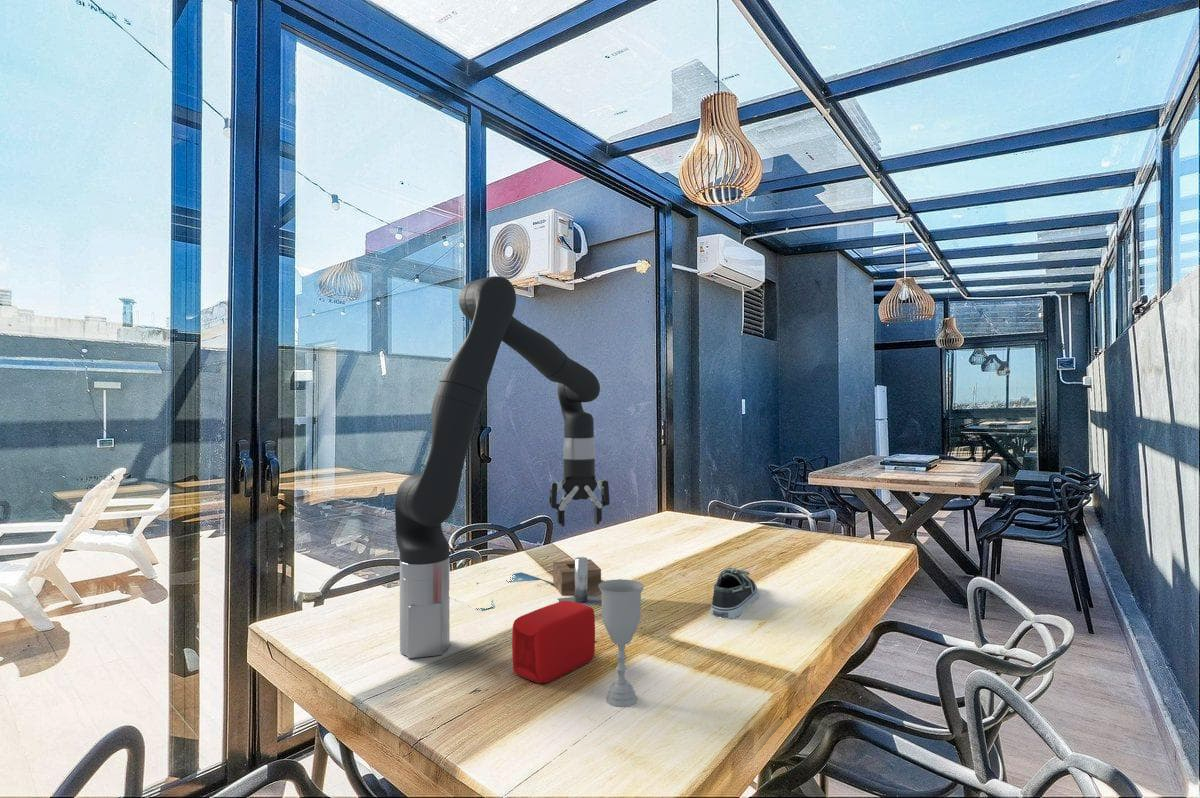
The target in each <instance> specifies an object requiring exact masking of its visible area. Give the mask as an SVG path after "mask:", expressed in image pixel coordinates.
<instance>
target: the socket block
mask: <svg viewBox="0 0 1200 798" xmlns="http://www.w3.org/2000/svg"><path fill="white" fill-rule="evenodd" d="M587 571H588V594H595V593H602V592H601V590H600V588H599V586H598V585H599V584H600V583H602V569H601V567H599V566H598V565H597V564H596V563H595V561H593V560H592V559H588V558H587ZM552 583H553V584H554V586H555V587H554V586H553V587H554V588H555V589H556V590H557V592H558V593H559V594H560V595H561V596H575V560H563V561H552Z"/></svg>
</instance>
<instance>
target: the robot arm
mask: <svg viewBox="0 0 1200 798" xmlns="http://www.w3.org/2000/svg"><path fill="white" fill-rule="evenodd" d="M516 304H517V293H516V290H515V286H514V285H513V283H512V282H511V281H510V280H509V279H508V278H506V277H504V276H500V275H499V276H498V275H497V276H488V277H483V278H480V279H475V280H472V281H470V282H467V283H466V284H464V285H463V286H462V288H461V289H460V292H459V294H458V306H459V308H460V311H461V312H462V314H463V315H464V317H466V318H467V320H469V321H471V322H472V323H471V325H470V328H469V331H468V334H467V336H466V338H465V340H464V342H463V343H461V346H460V347H459V348H458V350H456V353H455V354H454V355H453V356H452V358H451V359H450V361H449V362H448V364H447V365H446V367H445V368H444V370H443V372H442V374H441V377H440V379H439V382H438V385H437V388H436V392H435V395H434V397H433V401H432V406H431V415H430V416H431V441H430V442H431V443H430V444H431V445H430V448H429V452H428V456H427V460H426V462H425V465H424V468H423V471H422V473H417V474H413V475H412V474H411V475H409V476H408V477H406V478H405V479H404V480H403V481H402V482H401V483H400V484H399V486H398V488H397V490H396V494H395V500H394V501H395V502H394V518H395V521H394V522H395V523H394V524H395V525H394V526H395V539H396V544H397V548H398V552H399V652H400V653H401V654H402V655H404V656H406V657H407V659H414V658H415V659H416V658H424V657H432V656H433V657H435V656H442V654H443V652H445V651H446V650H448V648H449V647H450V639H451V638H450V630H451V629H450V597H449V590H450V543H449V541H448V540H447V538H446V536H445V534H444V532H443V528H442V524H443V523H444V522H446V521H447V520H448V519H449V518H450V516H451V515H452V513H453V512H454V509H455V507H456V504H457V501H458V500H457V499H458V495H459V490H460V487H461V486H460V485H461V480H462V474H463V470H464V465H465V460H466V457H467V452H468V451H469V450H468V449H469V446H470V444H471V441H472V436H473V433H474V429H475V426H476V423H477V420H478V417H479V414H480V412H481V408H482V405H483V403H484V399H485V396H486V391H487V387H488V383H489V380H490V378H491V374H492V371H493V368H494V366H495V362H496V359H497V358H496V357H497V356H498V355H497V354H498V352H499V349H500V348H501V347H500V346H501V343H504V344H506V345H507V346H508V347H510V348H511V349H512V350H513V351H515V352H516V353H518V354H519V355H520V356H521V357H522V358H523V359H525V360H526V362H528V363H530V365H532V367H534V368H535V369H536V370H537V372H539V373H540V374H541V375H542V376H544V378H546V379H547V380H548V381H550V382H552V383H557V397H558V401H559V402H558V403H559V406H560V407H559V408H560V409H561V414H562V418H563V422H564V423H563V424H564V425H563V426H564V427H563V430H564V431H563V434H564V435H563V436H564V437H563V438H564V439H563V440H564V441H563V451H562V457H563V461H562V462H563V480H562V482H555V481H550V484H549V502H548V503H549V504H548V505H549V507H550V508H552V509H554V510H556V521H557V523H558V524H559V526H561V527H565V508H566V506H567V505H568V504H569V503H570V502H571V500H573V501H578V500H583V501H584V500H588V499H589V500H590V501H591V502H592V504H593V505H594V507H593V523H594V525H600V523H601V522H602V519H603V517H602V516H603V515H602V513H603V507H606V506H609V505H610V489H609V481H608V480H607V479H601V480H596V446H595V438H594V436H595V435H594V434H595V433H594V429H595V427H594V424H595V423H594V416H593V415H592V414H591V413H589V412H586V411H584V407H583V405H582V403H590V402H593V401H595V400H596V399H597V398H598V396H599V395H600V394H601V393H600V392H601V385H600V382H599V378H597V376H596V375H595V374H594V373H593V372H592V371H591V370H589V369H588V368H587V367H585V366H584V365H582V364H580V363H578V362H577V361H575V360H573V359H572V358H570V357H569V356H567V354H566V353H565V352H564V351H562V349H561V348H559V347H558V345H556V344H555V342H553V340H551V339H549V338H548V337H547V336H545V335H543V334H542V333H540V332H539V331H536V330H535V329H533V328H531V327H529V326H527V325H526V324H524V323H523V322H522V321H520V320H518V319H517V318H515V316H513V315H514V312H515V310H516ZM597 486H598V489H599V490H600V492H601V499H599V498H598V496H597V495H596V494H595V493H594V491H595V490H596V488H597ZM561 488H562V489H563V491H564V494H563V495H562V497H561V498H560V500H559V502H557V499H558V498H557V495H558V492H559V491H560V490H561Z"/></svg>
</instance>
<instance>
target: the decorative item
mask: <svg viewBox="0 0 1200 798" xmlns="http://www.w3.org/2000/svg"><path fill="white" fill-rule="evenodd" d="M595 643H596V620H595V611H594V609H593V608H592V606H586V605H583V604H580V603H576V602H571V601H560V602H559V601H558V602H554V603H552V604H548V605H546V606H543V607H540V608H538V609H535V610H532V611H530V612H527V613H526V614H523V615H521V616H519V617H517V618H516V619H515V620H514V621H513V623H512V638H511V648H512V649H511V651H512V652H511V654H512V655H511V656H512V657H511V658H512V659H511V660H512V670H513V672H514V674H516V675H518V676H520V677H522V678H524V679H526V680H529V681H532V682H535V683H539V684H547V683H549V682H551V681H554V680H556V679H557V678H560V677H563V676H564V675H566V673H567V674H568V673H571V672H572V671H574V670H577V669H578V668H579V667H581V666H583V665H585V664H586V663H588V662H590V661H591V660H592V659H593V658H594V656H595V650H596V647H595V645H596V644H595Z"/></svg>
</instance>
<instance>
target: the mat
mask: <svg viewBox="0 0 1200 798" xmlns="http://www.w3.org/2000/svg"><path fill="white" fill-rule="evenodd" d="M557 600H558V602H560V601H571V602H575V596H572V597H571V596H570V597H559V598H557ZM580 604H583V605H586V606H589V607H592V606H599V605H601V606H602V597H600V596H599V594H593V595H588V601H587V602H586V603H580Z"/></svg>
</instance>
